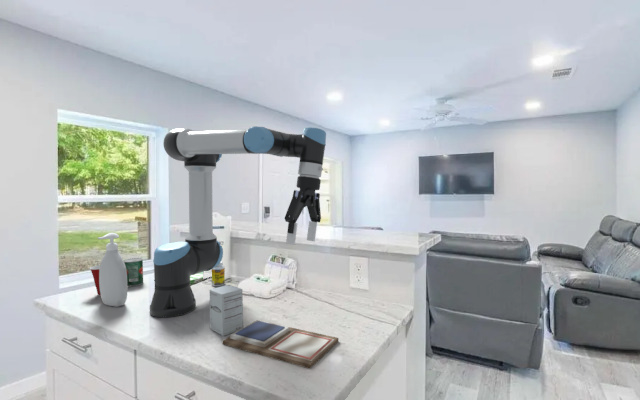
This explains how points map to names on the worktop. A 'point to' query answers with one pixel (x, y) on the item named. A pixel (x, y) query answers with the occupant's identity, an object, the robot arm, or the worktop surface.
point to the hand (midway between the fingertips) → (301, 242)
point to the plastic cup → (96, 277)
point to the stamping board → (282, 343)
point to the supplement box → (226, 309)
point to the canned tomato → (134, 271)
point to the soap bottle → (112, 274)
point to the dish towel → (196, 278)
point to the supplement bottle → (218, 275)
